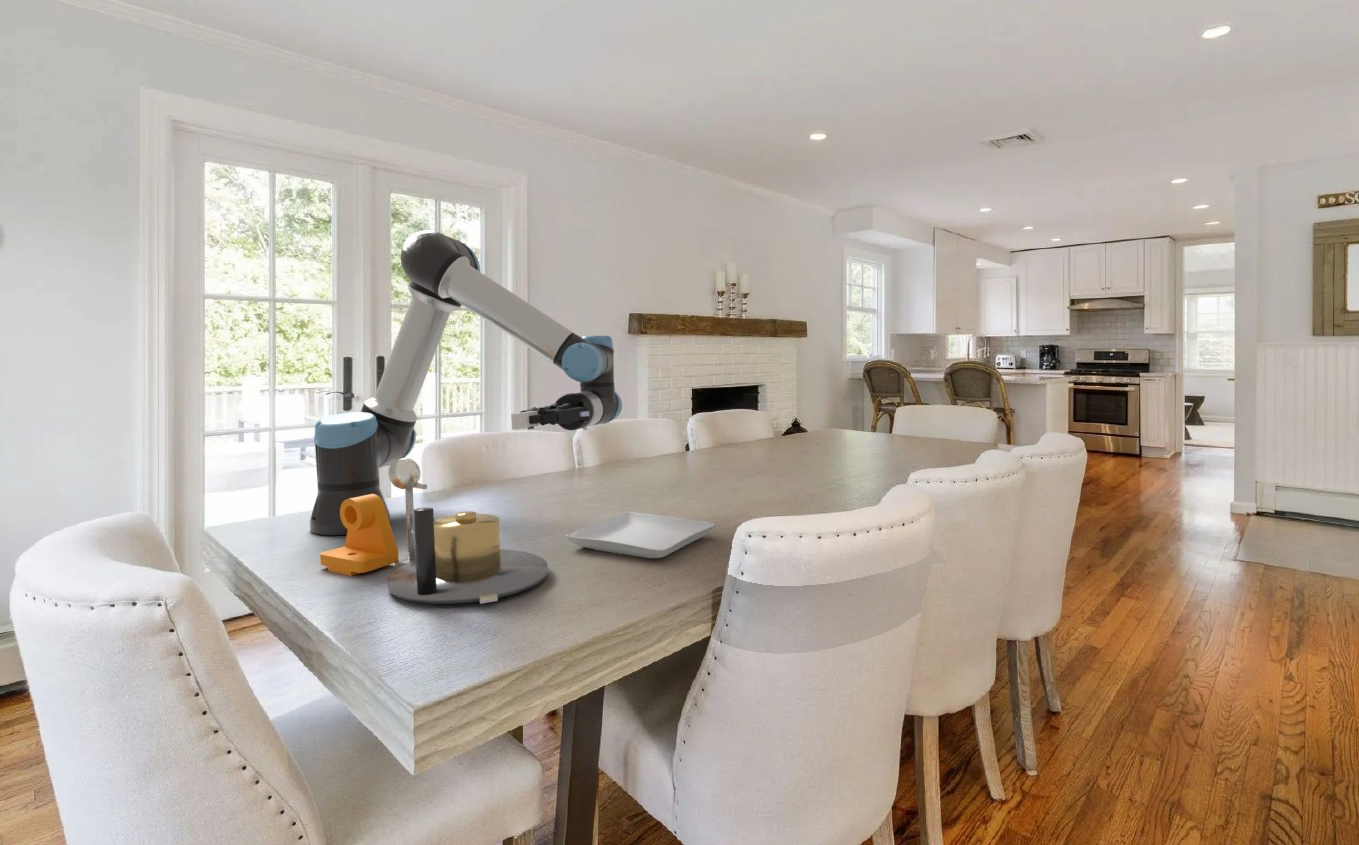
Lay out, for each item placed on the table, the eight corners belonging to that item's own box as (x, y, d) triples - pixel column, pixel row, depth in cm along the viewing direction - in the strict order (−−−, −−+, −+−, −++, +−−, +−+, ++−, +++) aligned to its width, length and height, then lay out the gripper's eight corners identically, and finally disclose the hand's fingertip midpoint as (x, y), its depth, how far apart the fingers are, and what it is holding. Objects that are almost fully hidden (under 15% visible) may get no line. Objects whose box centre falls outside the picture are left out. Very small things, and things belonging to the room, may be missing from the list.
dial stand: (390, 569, 116) (385, 459, 114) (404, 561, 120) (399, 455, 118) (428, 570, 115) (424, 459, 113) (441, 562, 119) (436, 456, 117)
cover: (422, 580, 104) (419, 520, 103) (451, 561, 114) (449, 506, 113) (486, 582, 103) (484, 521, 102) (510, 562, 113) (508, 507, 112)
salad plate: (663, 568, 116) (662, 548, 116) (563, 551, 127) (562, 533, 126) (718, 539, 135) (718, 521, 134) (626, 526, 145) (626, 510, 145)
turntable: (354, 600, 99) (349, 510, 97) (434, 552, 122) (431, 480, 121) (516, 606, 95) (513, 514, 94) (566, 556, 119) (564, 482, 118)
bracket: (318, 569, 116) (314, 498, 115) (355, 558, 122) (352, 491, 121) (361, 578, 111) (358, 505, 110) (398, 566, 117) (395, 496, 116)
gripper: (607, 428, 142) (549, 442, 120) (551, 428, 146) (485, 442, 124) (605, 392, 141) (546, 399, 119) (549, 393, 146) (482, 401, 123)
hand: (515, 421), depth 122 cm, fingers closed
